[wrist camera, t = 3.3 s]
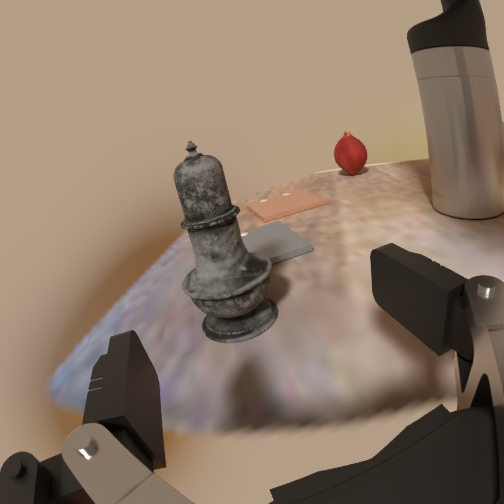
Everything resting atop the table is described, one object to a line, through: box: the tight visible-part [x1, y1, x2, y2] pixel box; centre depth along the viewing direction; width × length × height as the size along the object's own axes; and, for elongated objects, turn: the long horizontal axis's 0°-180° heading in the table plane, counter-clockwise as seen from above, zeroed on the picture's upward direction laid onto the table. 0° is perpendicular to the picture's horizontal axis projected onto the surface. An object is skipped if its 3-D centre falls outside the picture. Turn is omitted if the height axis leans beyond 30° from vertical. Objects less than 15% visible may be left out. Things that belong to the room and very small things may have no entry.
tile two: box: [246, 189, 328, 222], centre depth 45 cm, size 9×9×1 cm
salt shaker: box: [174, 141, 278, 343], centre depth 20 cm, size 6×6×12 cm
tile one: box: [241, 221, 313, 264], centre depth 32 cm, size 9×9×1 cm
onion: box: [334, 131, 367, 175], centre depth 52 cm, size 6×6×8 cm
